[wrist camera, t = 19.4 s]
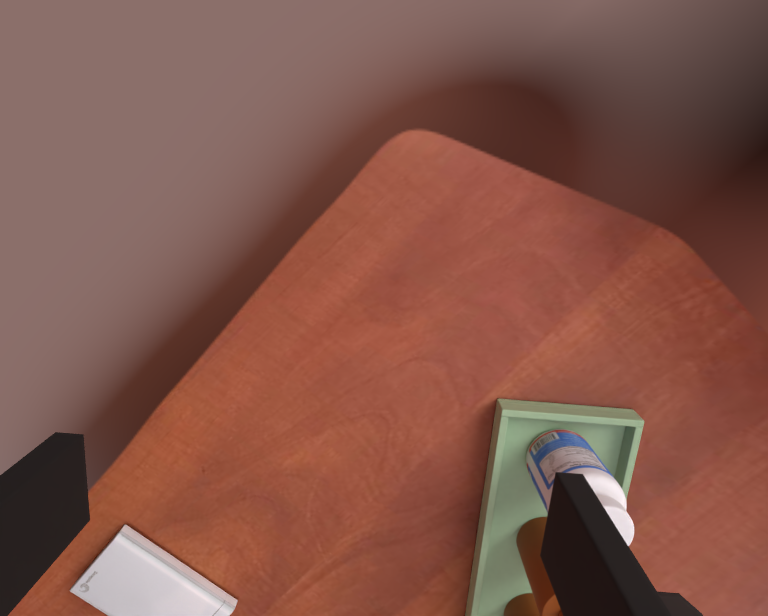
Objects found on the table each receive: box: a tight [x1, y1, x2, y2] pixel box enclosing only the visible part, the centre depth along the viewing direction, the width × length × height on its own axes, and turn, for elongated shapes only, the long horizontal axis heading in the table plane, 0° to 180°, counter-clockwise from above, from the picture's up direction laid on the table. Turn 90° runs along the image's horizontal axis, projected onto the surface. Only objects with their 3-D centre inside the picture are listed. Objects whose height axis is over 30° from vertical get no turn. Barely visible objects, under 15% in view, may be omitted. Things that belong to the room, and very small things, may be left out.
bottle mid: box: [516, 517, 563, 616], centre depth 40 cm, size 5×5×11 cm
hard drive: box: [70, 525, 238, 616], centre depth 47 cm, size 2×8×12 cm
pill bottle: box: [526, 429, 634, 546], centre depth 38 cm, size 6×5×10 cm
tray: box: [465, 399, 644, 616], centre depth 45 cm, size 25×11×2 cm, turn 175°
